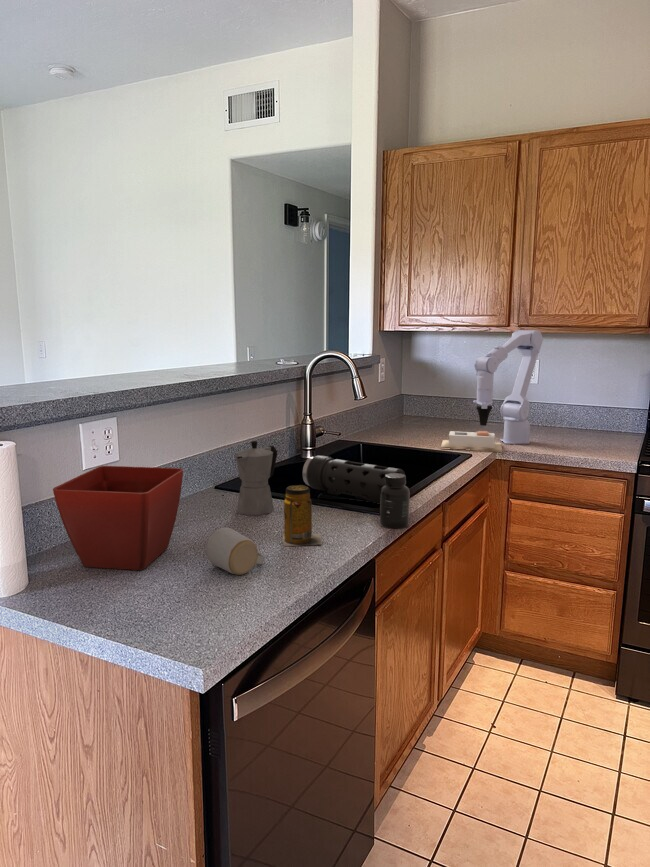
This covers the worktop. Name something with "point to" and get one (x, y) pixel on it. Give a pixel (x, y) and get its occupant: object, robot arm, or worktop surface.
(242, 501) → the coffeepot
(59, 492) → the plant pot
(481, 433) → the terracotta plunger
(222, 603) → the worktop surface
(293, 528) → the condiment
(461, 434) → the grey cube
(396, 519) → the supplement bottle
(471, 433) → the plunger panel
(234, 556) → the ceramic mug
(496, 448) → the birch board
